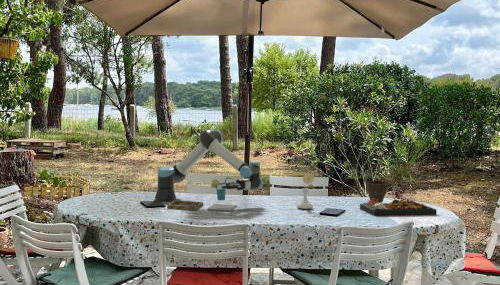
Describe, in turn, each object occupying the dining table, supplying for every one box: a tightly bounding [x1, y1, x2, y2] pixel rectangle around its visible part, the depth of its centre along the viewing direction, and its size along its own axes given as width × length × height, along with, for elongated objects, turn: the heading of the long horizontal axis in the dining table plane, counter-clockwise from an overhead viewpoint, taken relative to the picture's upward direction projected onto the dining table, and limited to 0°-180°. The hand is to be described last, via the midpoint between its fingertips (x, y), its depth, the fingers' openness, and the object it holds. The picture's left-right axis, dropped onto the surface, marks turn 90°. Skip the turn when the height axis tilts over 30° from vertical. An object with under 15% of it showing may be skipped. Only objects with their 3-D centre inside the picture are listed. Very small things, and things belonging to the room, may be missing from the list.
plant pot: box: [366, 180, 388, 203], centre depth 457 cm, size 15×15×16 cm
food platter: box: [359, 198, 438, 217], centre depth 428 cm, size 45×25×10 cm, turn 102°
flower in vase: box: [296, 173, 315, 210], centre depth 430 cm, size 13×11×25 cm
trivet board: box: [206, 203, 238, 213], centre depth 424 cm, size 16×20×1 cm
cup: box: [211, 177, 232, 201], centre depth 423 cm, size 14×8×15 cm, turn 115°
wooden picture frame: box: [167, 199, 204, 211], centre depth 426 cm, size 20×18×2 cm
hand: (214, 186), depth 420 cm, fingers closed on cup, 8 cm apart
